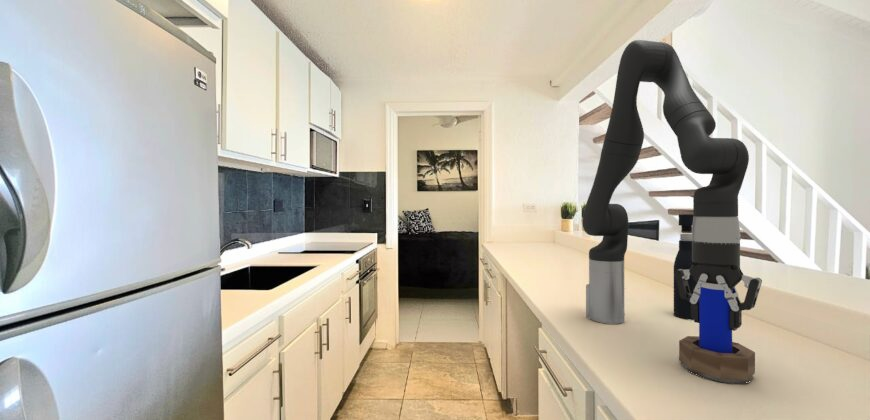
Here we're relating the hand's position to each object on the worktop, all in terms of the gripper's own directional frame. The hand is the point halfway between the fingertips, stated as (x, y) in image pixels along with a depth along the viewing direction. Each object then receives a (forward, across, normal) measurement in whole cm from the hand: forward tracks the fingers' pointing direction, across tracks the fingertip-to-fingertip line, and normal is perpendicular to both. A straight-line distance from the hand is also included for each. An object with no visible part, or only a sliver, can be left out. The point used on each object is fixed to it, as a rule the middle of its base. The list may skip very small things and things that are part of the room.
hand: (715, 325), depth 72 cm
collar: (+9, 0, 0) cm, 9 cm away
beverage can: (+7, 0, 0) cm, 7 cm away
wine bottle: (+9, -17, +36) cm, 41 cm away
